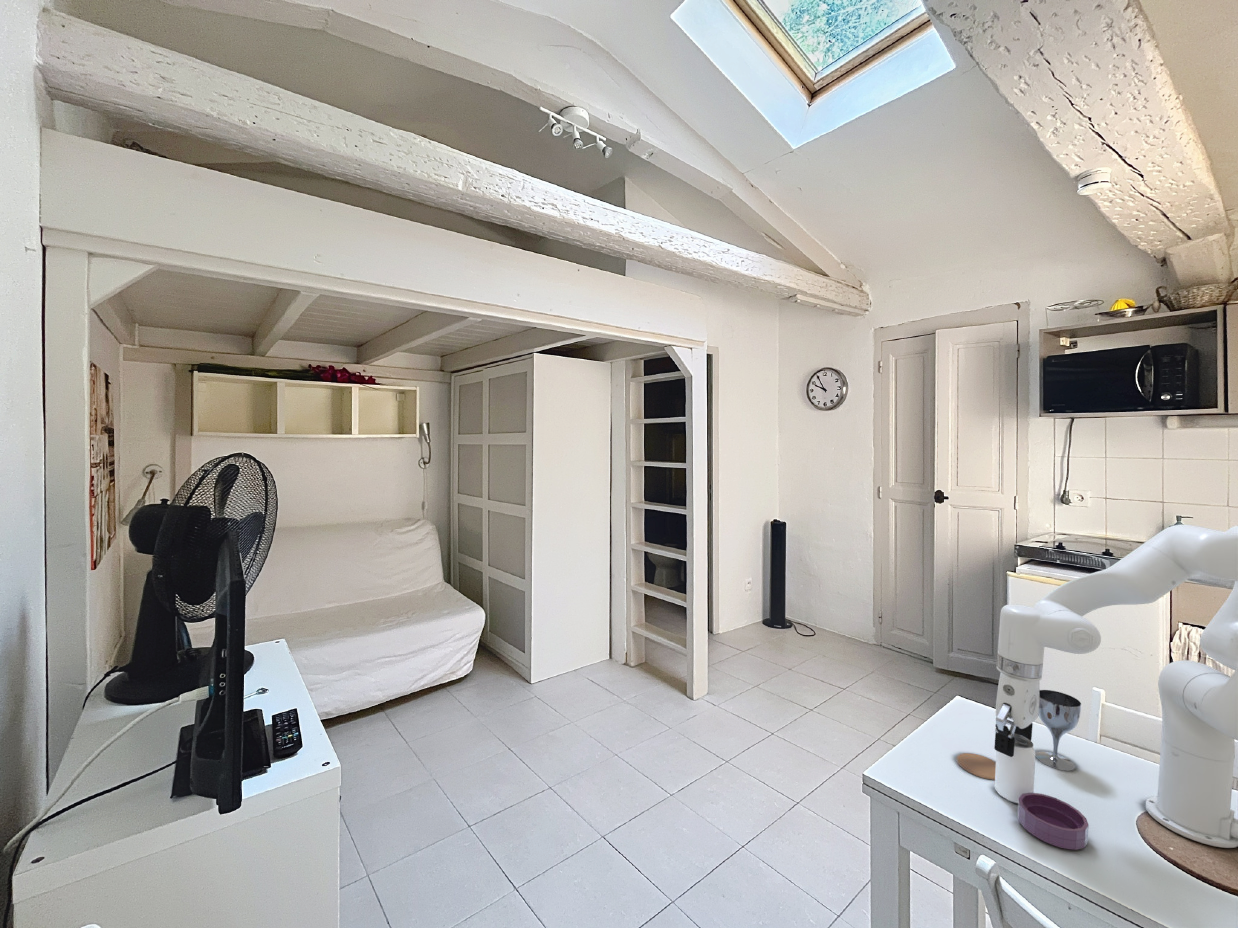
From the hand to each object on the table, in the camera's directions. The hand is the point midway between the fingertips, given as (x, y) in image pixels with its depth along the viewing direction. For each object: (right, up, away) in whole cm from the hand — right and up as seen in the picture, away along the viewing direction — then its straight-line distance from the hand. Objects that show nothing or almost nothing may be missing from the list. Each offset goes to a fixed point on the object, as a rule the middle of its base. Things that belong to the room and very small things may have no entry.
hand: (1013, 745), depth 110 cm
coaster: (0, -10, +10) cm, 14 cm away
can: (0, -11, 0) cm, 11 cm away
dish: (0, -11, -10) cm, 15 cm away
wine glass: (+19, -10, +12) cm, 25 cm away
